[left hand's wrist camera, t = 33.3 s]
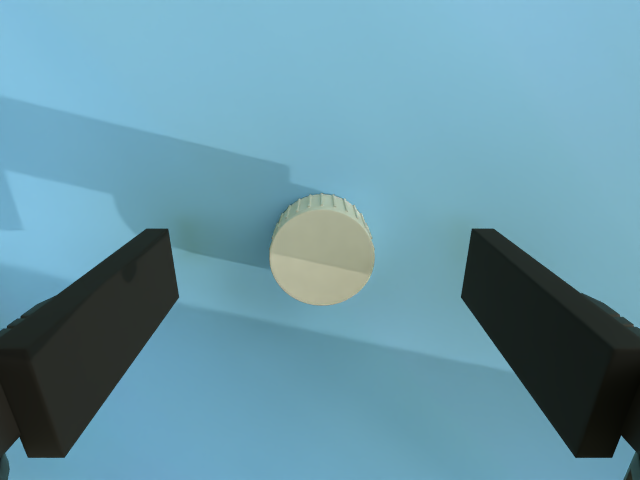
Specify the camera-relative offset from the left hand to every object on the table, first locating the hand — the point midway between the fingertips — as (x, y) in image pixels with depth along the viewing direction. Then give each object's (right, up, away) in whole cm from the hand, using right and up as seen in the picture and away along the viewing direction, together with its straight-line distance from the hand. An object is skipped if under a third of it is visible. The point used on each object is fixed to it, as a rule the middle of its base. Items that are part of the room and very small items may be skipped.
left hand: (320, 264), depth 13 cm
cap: (0, 0, 0) cm, 0 cm away
